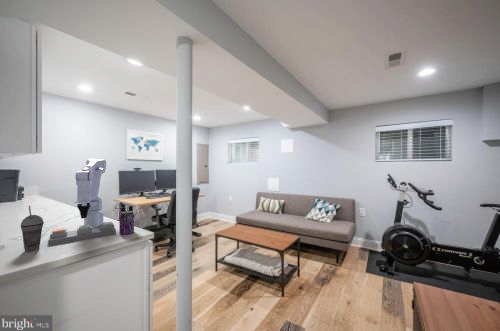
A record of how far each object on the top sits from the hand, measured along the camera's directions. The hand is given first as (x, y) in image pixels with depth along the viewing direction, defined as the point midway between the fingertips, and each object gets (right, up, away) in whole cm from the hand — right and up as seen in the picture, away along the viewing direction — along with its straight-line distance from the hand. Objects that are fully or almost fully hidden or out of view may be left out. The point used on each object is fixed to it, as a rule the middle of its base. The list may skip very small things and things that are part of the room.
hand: (83, 217), depth 113 cm
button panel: (+3, -9, -4) cm, 11 cm away
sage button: (+3, -6, -4) cm, 8 cm away
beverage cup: (-6, -10, -21) cm, 24 cm away
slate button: (+11, -6, +3) cm, 13 cm away
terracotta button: (-4, -6, -10) cm, 12 cm away
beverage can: (+23, -10, +2) cm, 25 cm away
